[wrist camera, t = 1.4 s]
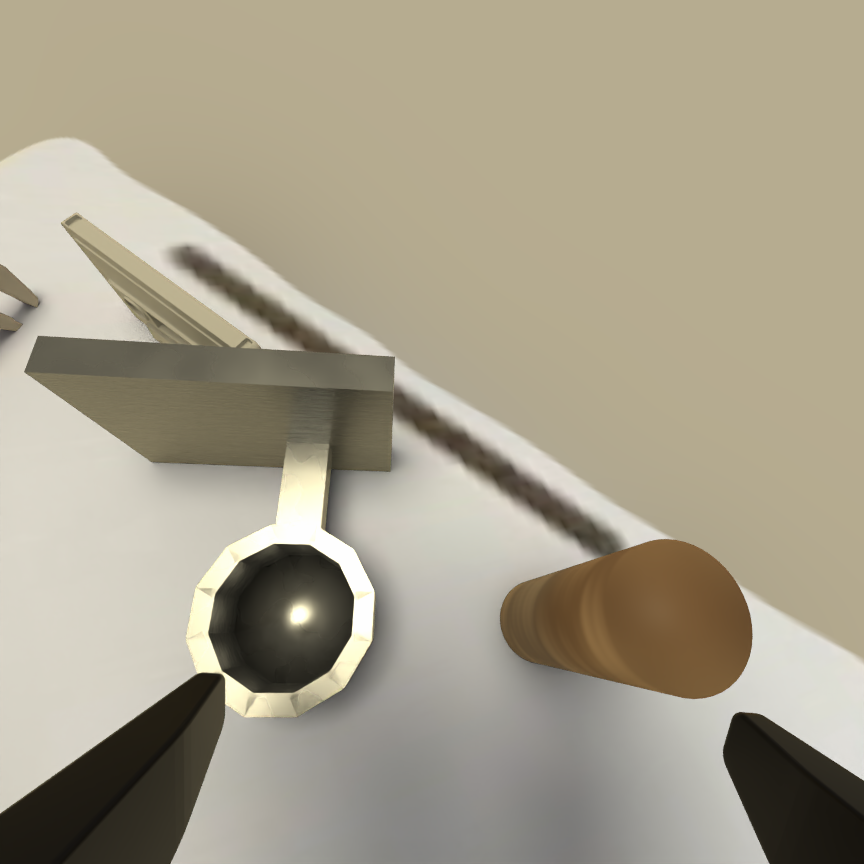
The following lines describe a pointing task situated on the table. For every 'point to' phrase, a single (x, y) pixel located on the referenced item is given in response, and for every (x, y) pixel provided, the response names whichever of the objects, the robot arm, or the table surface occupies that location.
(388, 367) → the cup bracket
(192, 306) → the cassette
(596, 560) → the rail post
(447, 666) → the table surface
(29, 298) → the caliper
